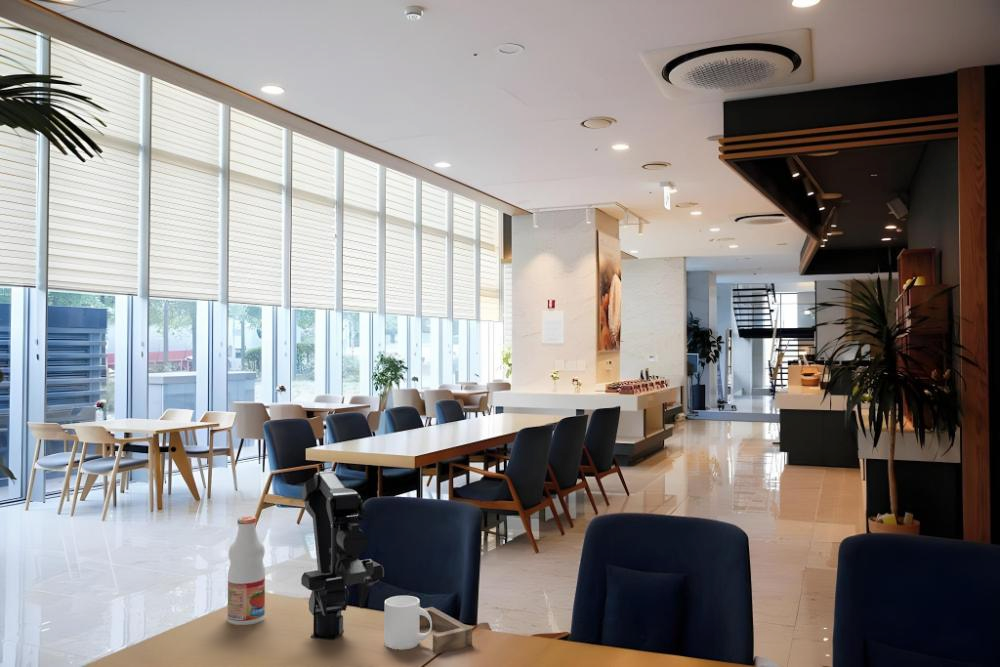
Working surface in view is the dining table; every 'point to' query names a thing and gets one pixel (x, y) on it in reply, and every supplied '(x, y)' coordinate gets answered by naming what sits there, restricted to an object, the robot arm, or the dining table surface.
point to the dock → (447, 631)
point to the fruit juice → (246, 576)
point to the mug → (403, 622)
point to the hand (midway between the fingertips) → (343, 611)
